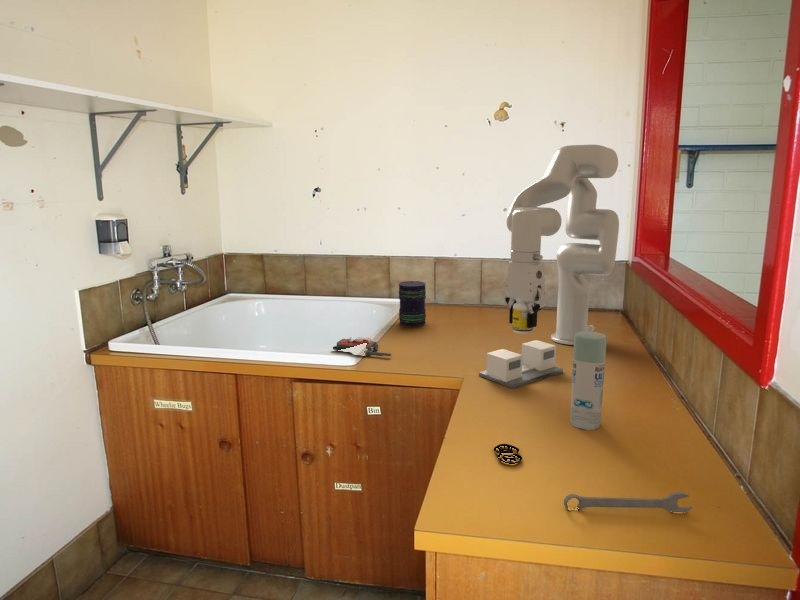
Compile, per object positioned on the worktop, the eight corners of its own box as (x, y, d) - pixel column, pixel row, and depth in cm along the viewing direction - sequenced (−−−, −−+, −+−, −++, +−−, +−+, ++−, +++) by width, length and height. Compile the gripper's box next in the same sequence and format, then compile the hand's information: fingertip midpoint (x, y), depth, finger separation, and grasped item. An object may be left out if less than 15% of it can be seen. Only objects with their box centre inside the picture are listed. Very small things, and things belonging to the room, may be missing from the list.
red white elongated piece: (329, 354, 175) (390, 360, 168) (328, 340, 174) (389, 346, 167) (341, 346, 183) (400, 352, 176) (341, 333, 182) (399, 338, 175)
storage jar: (426, 326, 204) (426, 286, 200) (398, 327, 204) (398, 286, 201) (425, 320, 213) (425, 280, 210) (399, 320, 214) (398, 281, 210)
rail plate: (529, 361, 165) (529, 356, 165) (562, 372, 156) (563, 366, 155) (479, 375, 154) (479, 370, 153) (512, 388, 144) (512, 383, 144)
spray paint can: (596, 432, 119) (602, 341, 115) (565, 426, 122) (570, 336, 118) (603, 421, 124) (610, 333, 120) (574, 415, 128) (578, 329, 124)
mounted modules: (535, 360, 163) (536, 340, 161) (555, 366, 157) (556, 345, 156) (486, 374, 152) (486, 353, 150) (506, 382, 146) (507, 359, 145)
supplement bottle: (509, 329, 154) (510, 293, 152) (529, 328, 155) (530, 293, 153) (515, 334, 149) (516, 298, 147) (535, 333, 150) (537, 297, 147)
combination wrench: (564, 494, 91) (695, 496, 89) (563, 490, 92) (692, 491, 90) (564, 515, 92) (693, 517, 90) (562, 510, 93) (690, 512, 91)
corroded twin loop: (498, 468, 106) (498, 463, 106) (491, 448, 114) (491, 443, 113) (525, 467, 106) (525, 462, 106) (516, 447, 114) (516, 442, 113)
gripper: (561, 259, 143) (557, 329, 147) (510, 253, 157) (508, 316, 161) (541, 262, 139) (538, 334, 143) (491, 255, 152) (489, 320, 156)
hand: (522, 324), depth 152 cm, fingers closed on supplement bottle, 5 cm apart
